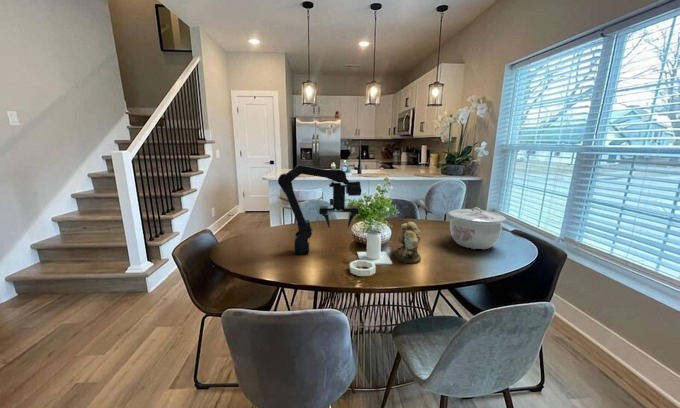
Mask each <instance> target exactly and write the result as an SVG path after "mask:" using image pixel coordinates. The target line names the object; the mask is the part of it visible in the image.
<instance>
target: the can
mask: <svg viewBox="0 0 680 408" xmlns="http://www.w3.org/2000/svg"><path fill="white" fill-rule="evenodd" d="M381 249H382V234H381V231H379V230H369V231H367V235H366V252H367V253H366V256H367V258H369V259H374V260H375V259H379V258H380V255H381V252H382V251H381Z"/></svg>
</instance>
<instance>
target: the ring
mask: <svg viewBox="0 0 680 408" xmlns="http://www.w3.org/2000/svg"><path fill="white" fill-rule="evenodd" d="M358 267H359V268H358ZM360 267H362V268H360ZM363 267H364V268H363ZM376 268H377V266H376V265H375V264H374V263H373V262H370V261H367V260H359V259H357V260H356V259H355V260H354V261H351V262H349V272H350V274H352V275H356V276H357V277H358V276H359V277H369V276H370V277H371V276H372V275H374V274H376V271H377V269H376Z"/></svg>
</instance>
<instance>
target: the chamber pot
mask: <svg viewBox="0 0 680 408" xmlns="http://www.w3.org/2000/svg"><path fill="white" fill-rule="evenodd" d="M447 214H448V215H449V216H451V217H452V218H451V220H450V222H449V228H450V234H451V237H452V238H453V240H454V242H455V243H456V244H457V245H459V246H461V247H464V248H465V247H466V248H465V249H469V248H471V249H470V250H475V249H482V250H488V249H491V248H492V247H493V246H495V245H496V243H497V242H498V241H499V239H500V238H501V237H500V236H501V234H502V230H503V227H502V224H501V223H502V222H505V221H507V218H506V216H504V215H502V214H501V213H498V212H495V211H494V212H493V211H490V210H485V209H481V208H479V207H477V206H475V207H473V208H457V209H452V210H449V211H448V212H447Z"/></svg>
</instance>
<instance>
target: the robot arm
mask: <svg viewBox="0 0 680 408" xmlns="http://www.w3.org/2000/svg"><path fill="white" fill-rule="evenodd" d="M300 175H307V176H313V177H319V178H326V179H328V180H331V183H329V184H328V186H329V188H332V198H329V206H332V207H331V208H330V207H329V208H328V206H319V211H318V212H319V215H321V217H324V219H325V221H326V224H327V226H328V228H329V229H330V228H331V227H330V226H331V224H330V218H329V213H348V219H347V228H350V225H351V223H352V221H353V219H354V217H356V216H357V215H359V214H360V213H359V212H360V209H359V207H358V206H352V205H350V206H349V207H346V195H347V194H348V195H347V196H349V197H350V196H351V197H357V196H358V197H359V196H360V197H361V195H362V186H361V182H360V181H357V180H356V181H349V180H348V178H347V174H346V172H345V171H344V170H342V169H341V168H340V169H339V168H333V169H332V168H331V169H329V168H328V169H327V168H325V169H324V168H320V167H313V166H308V165H303V164H297V165H296V166H294V168H291V170H289V171H288V172H286V173H285V172H284V173H281V174H280V175H279V177H278V179H277V183H278V185H279V186H280V188H281V190H282V191H283V193H284V194H285V196H286V198H287V201H288V203H289V206H290V208H291V210H292V213H293V215H294V218H295V219H296V223H297V228H298V229H297V230H298V231H296V233H294V253H293V255H295V256H298V255H299V256H302V255H303V256H304V255H305V256H307V255H308V254H309V253H310V242H309V239H310V238H311V237H312V235H313V228H312V225H311V223H310V219H307V220H306V218H305V217H304V214H303V211H302V210H301V206H300V204H299V201H298V198H297V197H296V193H295V192H294V187H293V182H292V181H294V180H295V179H297V178H298V177H299V176H300ZM342 183H343V184H342Z"/></svg>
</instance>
